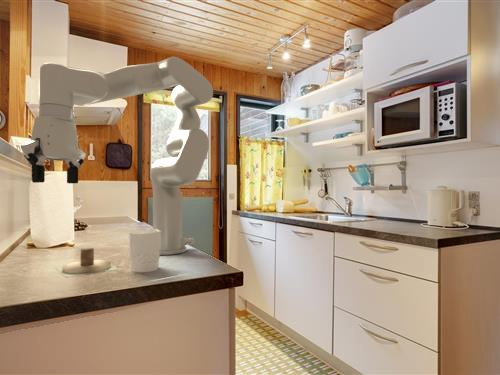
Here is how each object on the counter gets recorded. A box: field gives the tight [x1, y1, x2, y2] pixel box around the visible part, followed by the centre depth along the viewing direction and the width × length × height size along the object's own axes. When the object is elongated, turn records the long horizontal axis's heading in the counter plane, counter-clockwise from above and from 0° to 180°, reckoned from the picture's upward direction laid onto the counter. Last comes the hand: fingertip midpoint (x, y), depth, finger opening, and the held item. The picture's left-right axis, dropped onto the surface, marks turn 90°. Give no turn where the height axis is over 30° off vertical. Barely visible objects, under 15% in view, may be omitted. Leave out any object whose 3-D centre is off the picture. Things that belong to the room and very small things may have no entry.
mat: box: [55, 264, 119, 278], centre depth 80 cm, size 12×12×1 cm
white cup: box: [128, 229, 161, 273], centre depth 80 cm, size 8×8×10 cm
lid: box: [61, 247, 112, 274], centre depth 80 cm, size 11×11×5 cm
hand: (56, 182), depth 79 cm, fingers open, 9 cm apart
